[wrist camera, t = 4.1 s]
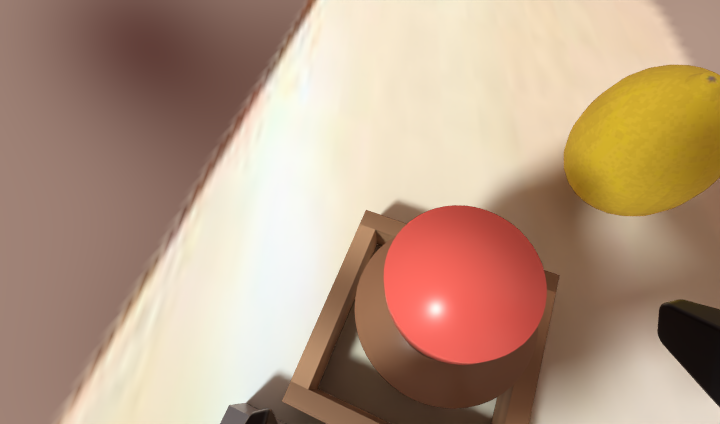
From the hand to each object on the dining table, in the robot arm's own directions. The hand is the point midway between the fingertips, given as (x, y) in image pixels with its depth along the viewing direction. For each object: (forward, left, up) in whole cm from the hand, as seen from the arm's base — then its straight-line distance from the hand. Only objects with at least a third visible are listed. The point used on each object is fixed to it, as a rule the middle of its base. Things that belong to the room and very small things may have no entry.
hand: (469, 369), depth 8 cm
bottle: (+1, +1, -9) cm, 9 cm away
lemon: (+12, -5, -9) cm, 16 cm away
